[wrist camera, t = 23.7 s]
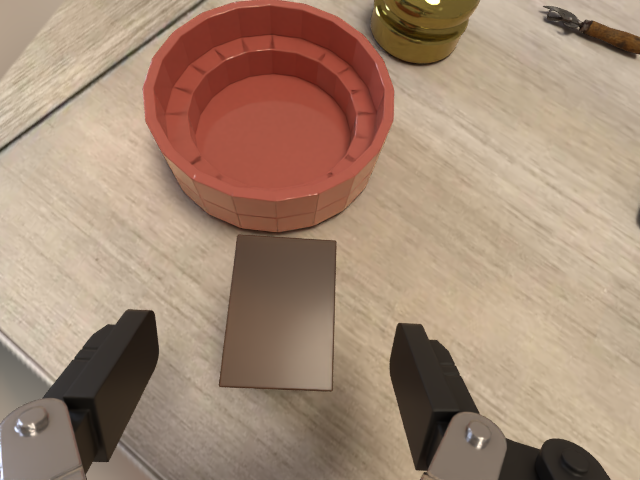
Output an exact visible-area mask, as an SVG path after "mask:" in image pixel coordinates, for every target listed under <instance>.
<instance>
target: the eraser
mask: <svg viewBox="0 0 640 480" xmlns="http://www.w3.org/2000/svg"><path fill="white" fill-rule="evenodd" d="M335 279H336V241H332V240H317V239H301V238H286V237H270V236H255V235H238V236H237V242H236V250H235V258H234V266H233V274H232V282H231V291H230V299H229V307H228V315H227V323H226V331H225V339H224V347H223V355H222V363H221V371H220V380H219V387H230V388H255V389H280V390H305V391H330V392H331V391H332V390H333V357H334V318H335Z"/></svg>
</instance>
